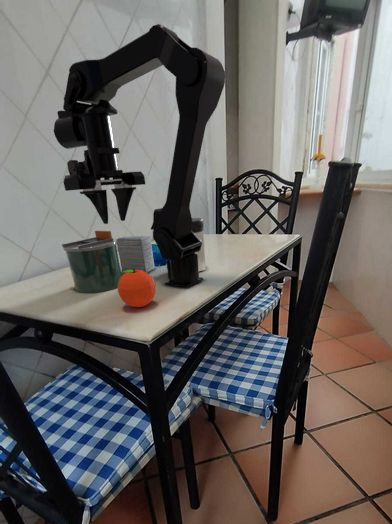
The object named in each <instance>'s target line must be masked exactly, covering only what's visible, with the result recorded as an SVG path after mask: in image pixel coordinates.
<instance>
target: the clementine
mask: <svg viewBox="0 0 392 524" xmlns="http://www.w3.org/2000/svg"><path fill="white" fill-rule="evenodd" d="M118 275H119V274H118ZM118 275H117V276H118ZM121 275H122V276H121V278H120V280H119V283H118V287H117V293H118V296H119V298H120V299H121V300H122V302H123V303H125V304H126V305H127V306H129V307H132V308H141V307H146V306H147V305H149V304H150V303H151V302H152V300H153V299H154V297H155V296H156V283H155V281H154V279H153V277H152V276H151V275H150V274H149V272H147V273H146V272H144V271H142V270H135V269H133V270H126V271H123V272H122V271H121ZM117 276H116V277H117ZM115 280H116V278H115ZM114 283H115V282H114Z"/></svg>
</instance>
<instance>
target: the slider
mask: <svg viewBox="0 0 392 524" xmlns="http://www.w3.org/2000/svg"><path fill="white" fill-rule="evenodd" d="M94 234H95V237H96V238H95V239H91V240H86V241H82V242H81V243H83V244H87V243H92V242H96V241H101V240H105V239H109V238H113V236H112V231H111V230H94Z"/></svg>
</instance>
